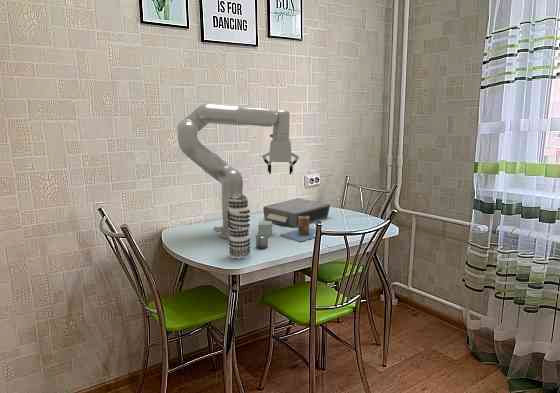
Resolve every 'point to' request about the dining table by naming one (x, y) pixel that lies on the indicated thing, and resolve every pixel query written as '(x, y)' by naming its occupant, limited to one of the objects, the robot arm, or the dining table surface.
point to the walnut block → (303, 225)
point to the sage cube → (265, 228)
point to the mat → (299, 238)
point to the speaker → (296, 211)
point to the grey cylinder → (261, 241)
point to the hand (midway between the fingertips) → (280, 173)
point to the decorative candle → (239, 226)
